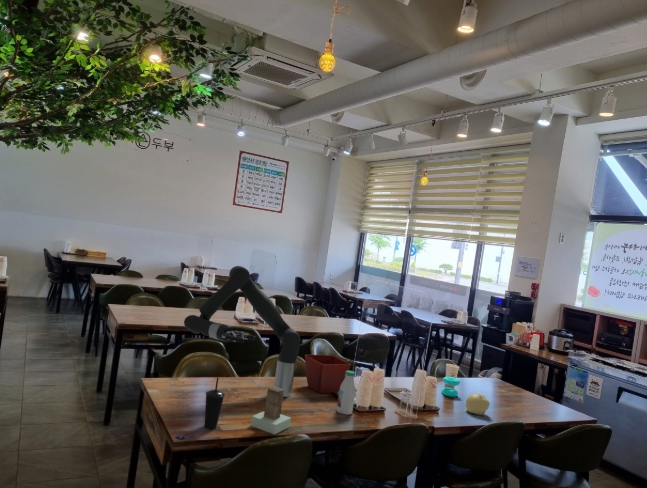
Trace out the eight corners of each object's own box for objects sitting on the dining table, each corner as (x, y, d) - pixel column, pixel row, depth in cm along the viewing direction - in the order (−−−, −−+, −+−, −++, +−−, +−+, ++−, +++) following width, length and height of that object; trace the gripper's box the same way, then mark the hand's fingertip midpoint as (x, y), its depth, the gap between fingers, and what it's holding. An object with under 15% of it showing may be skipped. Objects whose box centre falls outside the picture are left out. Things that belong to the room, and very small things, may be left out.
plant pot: (328, 383, 292) (333, 354, 292) (346, 395, 276) (351, 364, 276) (299, 384, 282) (304, 354, 282) (316, 396, 266) (321, 364, 266)
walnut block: (270, 413, 218) (274, 386, 218) (279, 417, 216) (284, 389, 216) (263, 416, 214) (267, 388, 214) (273, 420, 212) (277, 391, 212)
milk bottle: (353, 411, 250) (360, 371, 250) (349, 416, 243) (355, 375, 242) (339, 407, 252) (345, 368, 252) (334, 412, 245) (340, 371, 245)
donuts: (449, 380, 302) (440, 375, 311) (446, 397, 302) (437, 391, 311) (463, 381, 305) (454, 376, 314) (461, 398, 305) (451, 392, 315)
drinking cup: (202, 422, 208) (209, 374, 208) (220, 424, 209) (228, 376, 209) (199, 429, 201) (206, 379, 200) (218, 431, 201) (226, 381, 201)
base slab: (266, 418, 223) (268, 409, 223) (289, 427, 218) (291, 417, 218) (250, 425, 213) (252, 416, 212) (274, 434, 207) (275, 424, 207)
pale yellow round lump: (490, 417, 275) (493, 398, 275) (470, 415, 273) (473, 396, 273) (480, 410, 286) (483, 391, 286) (460, 408, 284) (464, 389, 284)
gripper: (212, 325, 229) (240, 333, 221) (231, 322, 241) (259, 330, 234) (209, 341, 229) (238, 350, 221) (229, 338, 241) (257, 346, 234)
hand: (249, 339), depth 228 cm, fingers open, 8 cm apart
